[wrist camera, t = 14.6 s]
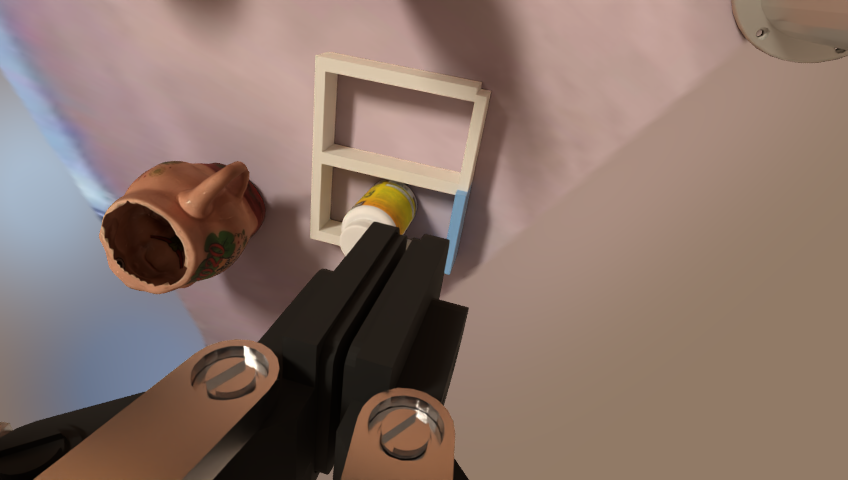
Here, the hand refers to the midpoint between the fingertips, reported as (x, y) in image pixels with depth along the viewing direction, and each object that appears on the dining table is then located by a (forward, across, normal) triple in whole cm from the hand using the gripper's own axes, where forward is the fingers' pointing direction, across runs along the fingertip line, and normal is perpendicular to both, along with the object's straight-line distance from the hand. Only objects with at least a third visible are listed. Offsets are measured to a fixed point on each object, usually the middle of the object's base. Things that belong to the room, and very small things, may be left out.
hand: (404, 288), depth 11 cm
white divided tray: (+37, +10, +12) cm, 40 cm away
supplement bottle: (+37, +10, +16) cm, 42 cm away
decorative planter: (+37, +29, +20) cm, 51 cm away
